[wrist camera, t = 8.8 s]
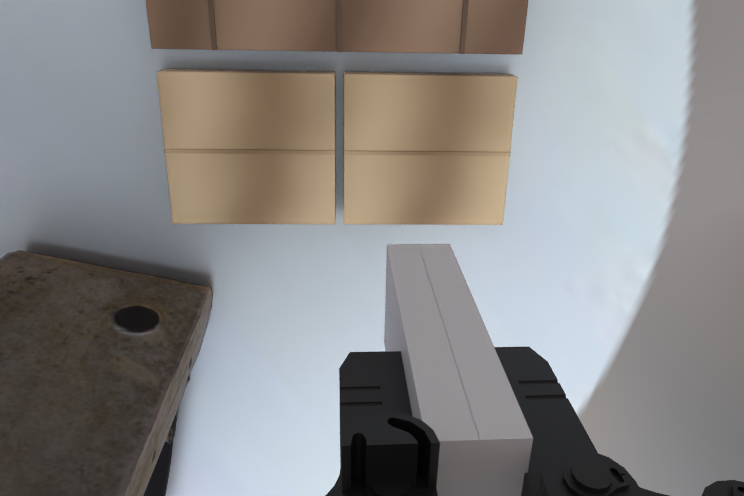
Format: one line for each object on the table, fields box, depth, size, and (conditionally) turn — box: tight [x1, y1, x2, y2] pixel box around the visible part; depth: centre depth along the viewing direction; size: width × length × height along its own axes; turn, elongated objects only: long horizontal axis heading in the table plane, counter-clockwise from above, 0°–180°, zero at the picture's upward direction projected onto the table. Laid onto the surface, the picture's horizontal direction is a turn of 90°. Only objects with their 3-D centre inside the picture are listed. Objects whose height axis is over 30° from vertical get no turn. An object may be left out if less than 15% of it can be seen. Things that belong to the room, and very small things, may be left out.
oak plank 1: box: [157, 69, 336, 224], centre depth 26 cm, size 7×6×1 cm
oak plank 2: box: [344, 72, 517, 225], centre depth 27 cm, size 7×6×1 cm
